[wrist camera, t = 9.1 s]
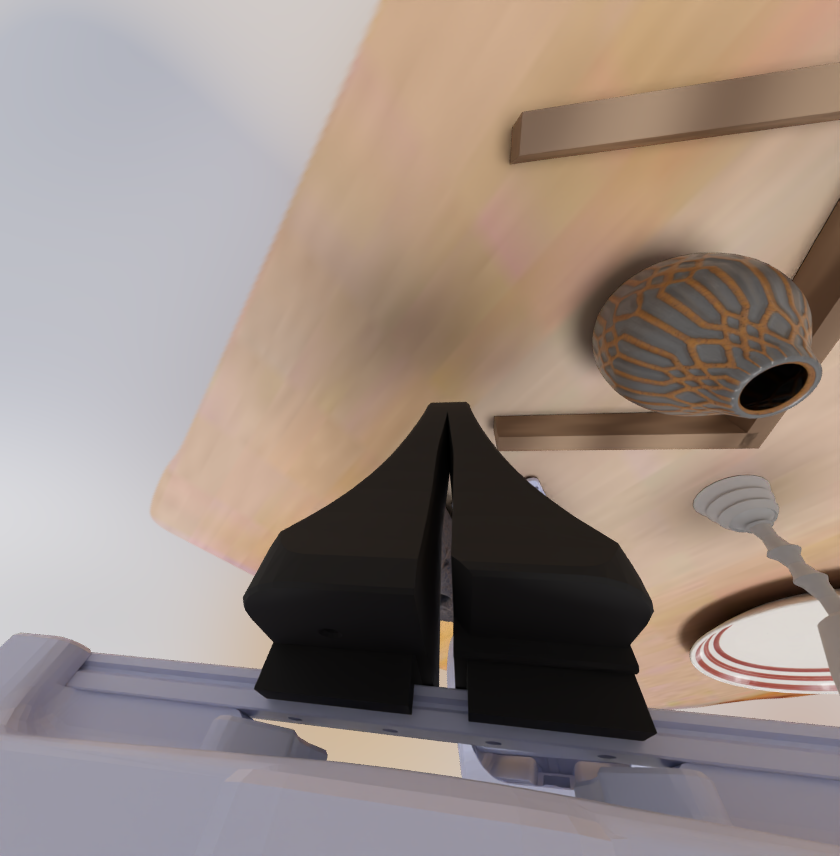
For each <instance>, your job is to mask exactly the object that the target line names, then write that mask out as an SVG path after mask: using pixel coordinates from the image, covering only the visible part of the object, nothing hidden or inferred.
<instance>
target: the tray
mask: <svg viewBox="0 0 840 856" xmlns="http://www.w3.org/2000/svg"><path fill="white" fill-rule="evenodd" d="M833 120H840V62H838V63H832V64H825V65H819V66H813V67H806V68H800V69H793V70H787V71H781V72H774V73H768V74H762V75H755V76H749V77H743V78H736V79H730V80H723V81H717V82H711V83H704V84H698V85H692V86H685V87H679V88H673V89H666V90H660V91H653V92H647V93H641V94H634V95H628V96H622V97H615V98H609V99H603V100H596V101H590V102H583V103H577V104H571V105H564V106H558V107H552V108H545V109H539V110H533V111H526V112H522V114H521V115H520V117H519V118H518V120H517V121H516V123H515V124H514V126H513V127H512V138H511V155H510V164H515V163H522V162H530V161H537V160H544V159H552V158H559V157H567V156H574V155H581V154H589V153H596V152H604V151H611V150H618V149H626V148H633V147H641V146H648V145H655V144H663V143H670V142H677V141H685V140H692V139H700V138H707V137H714V136H722V135H729V134H737V133H744V132H751V131H759V130H766V129H774V128H781V127H788V126H796V125H803V124H811V123H818V122H825V121H833ZM793 282H794V283H795V284H796V285H797V286H798V287H799V288H800V290H801V291H802V293H803V294H804V296H805V297H806V299H807V301H808V304H809V308H810V311H811V315H812V344H811V349H812V351H813V353H814V354H815V356H816V357H817V359H818V360H819V362H820V364H821V363H822V362H823V360H824V359H825V358H826V356H827V355H828V353H829V352H830V351H831V349H832V348H833V347H834V345H835V344H836V343H837V341H838V340H839V339H840V200H839V201H838V203H837V205H836V206H835V208H834V210H833V212H832V213H831V215H830V217H829V219H828V220H827V222H826V224H825V225H824V227H823V229H822V231H821V232H820V234H819V236H818V238H817V239H816V241H815V243H814V245H813V246H812V248H811V250H810V251H809V253H808V255H807V257H806V258H805V260H804V262H803V264H802V265H801V267H800V269H799V270H798V272H797V274H796V276H795V277H794V279H793ZM785 412H786V411H784V412H781V413H779V414H776V415H773V416H769V417H764V418H754V419H752V418H743V417H737V416H732V415H727V414H721V415H709V416H674V415H667V414H663V413H658V412H653V413H613V414H574V415H534V416H494V435H495V440H496V446H497V450H498V451H543V450H643V449H742V448H759V447H760V446H761V444H762V443H763V442H764V440H765V439H766V438H767V436H768V435H769V434H770V432H771V431H772V429H773V428H774V427H775V425H776V424H777V423H778V421H779V420H780V419H781V417H782V416H783V415H784V413H785Z"/></svg>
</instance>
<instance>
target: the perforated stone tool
mask: <svg viewBox="0 0 840 856" xmlns="http://www.w3.org/2000/svg"><path fill="white" fill-rule="evenodd" d="M451 542H452V518H451V516H450V515H449V513H448V511H447V509H446V507H445V514H444V522H443V533H442V558H441V599H440V620H441V621H442V620H443V621H448V622H450V621H451V622H453V593H452V568H451Z"/></svg>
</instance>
